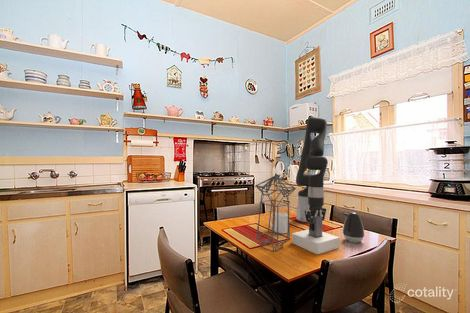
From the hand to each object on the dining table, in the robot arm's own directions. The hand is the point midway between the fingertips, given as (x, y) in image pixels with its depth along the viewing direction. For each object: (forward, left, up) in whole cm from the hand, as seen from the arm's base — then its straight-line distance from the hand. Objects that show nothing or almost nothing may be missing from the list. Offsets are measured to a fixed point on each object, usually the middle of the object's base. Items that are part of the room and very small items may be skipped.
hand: (315, 229), depth 116 cm
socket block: (0, 0, -8) cm, 8 cm away
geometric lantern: (-8, -20, -8) cm, 23 cm away
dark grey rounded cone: (+6, +23, -8) cm, 25 cm away
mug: (-26, -1, -8) cm, 27 cm away
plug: (0, 0, -3) cm, 3 cm away
